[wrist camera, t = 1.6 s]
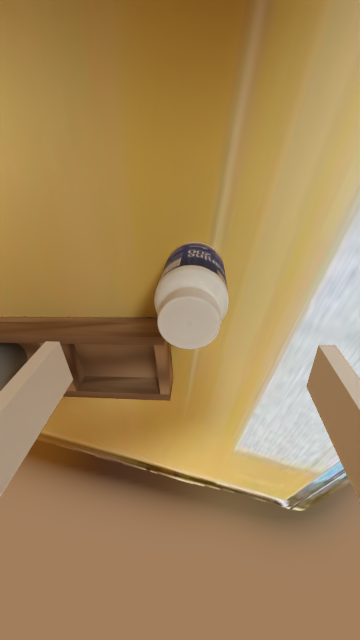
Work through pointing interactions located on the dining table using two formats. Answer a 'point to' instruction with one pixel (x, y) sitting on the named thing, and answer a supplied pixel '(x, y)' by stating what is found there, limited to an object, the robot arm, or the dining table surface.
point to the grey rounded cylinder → (10, 361)
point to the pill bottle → (191, 296)
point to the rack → (101, 353)
